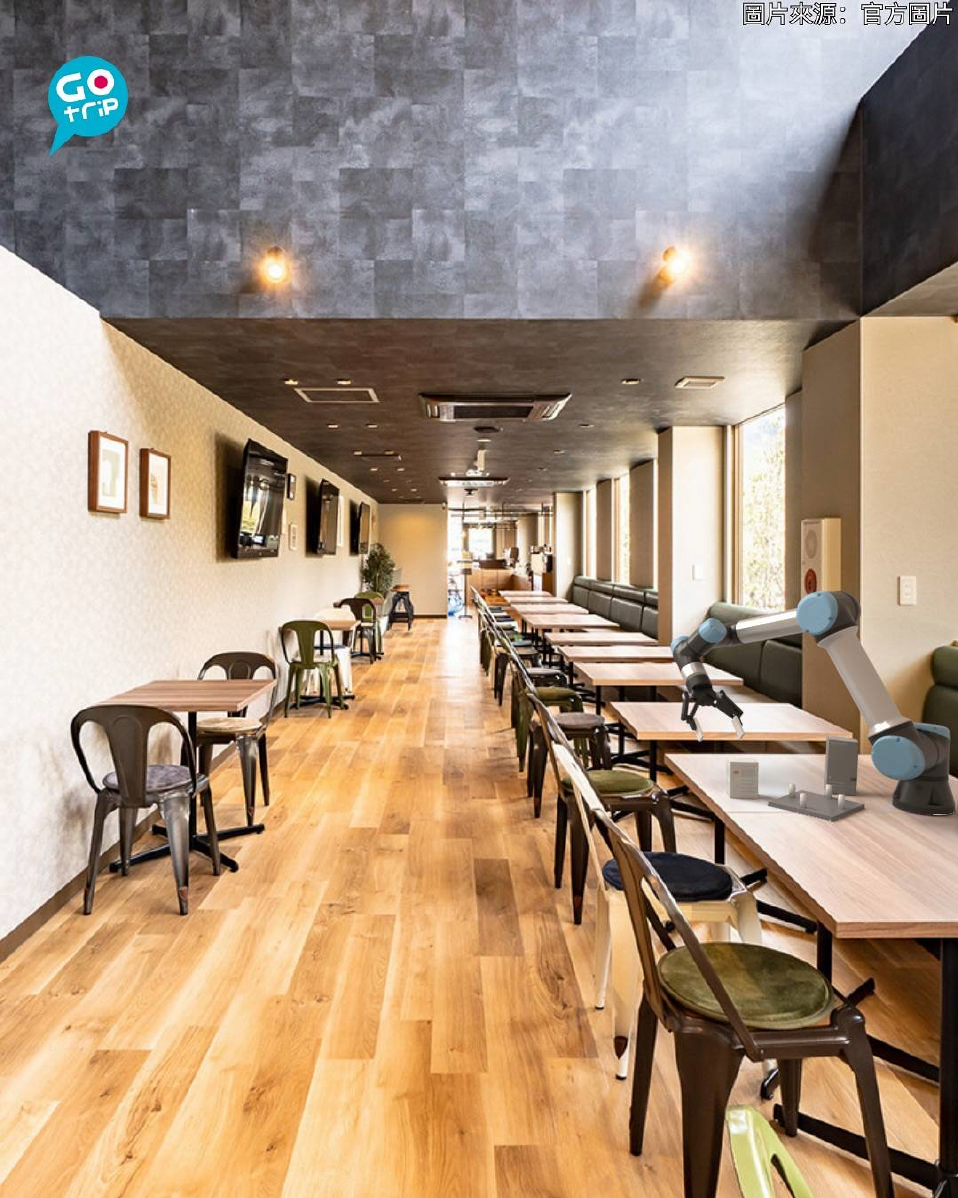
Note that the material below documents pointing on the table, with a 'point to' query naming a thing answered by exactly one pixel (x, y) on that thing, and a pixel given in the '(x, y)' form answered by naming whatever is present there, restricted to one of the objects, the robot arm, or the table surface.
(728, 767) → the small box
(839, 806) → the pin tray
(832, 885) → the table surface
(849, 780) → the skincare box
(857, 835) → the table surface
